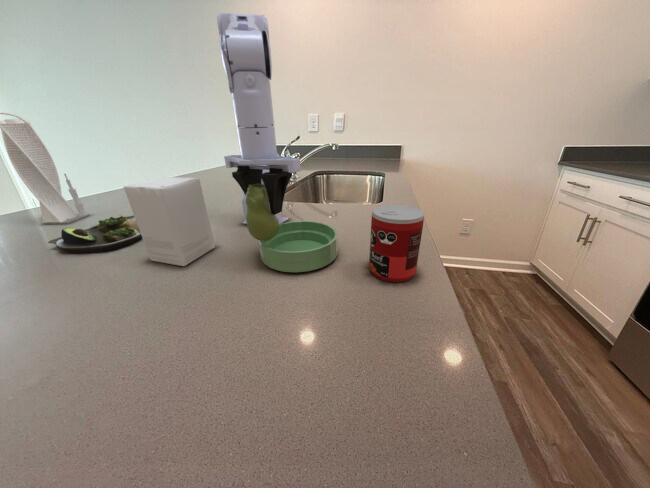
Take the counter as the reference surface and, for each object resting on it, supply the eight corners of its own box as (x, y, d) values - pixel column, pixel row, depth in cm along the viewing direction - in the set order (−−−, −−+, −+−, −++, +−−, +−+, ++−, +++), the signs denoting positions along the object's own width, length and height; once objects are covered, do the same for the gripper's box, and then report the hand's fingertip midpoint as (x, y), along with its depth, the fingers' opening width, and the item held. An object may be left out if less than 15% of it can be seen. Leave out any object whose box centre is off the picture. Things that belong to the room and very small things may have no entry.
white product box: (217, 247, 56) (201, 177, 49) (184, 267, 48) (160, 188, 42) (184, 242, 58) (165, 175, 52) (148, 260, 51) (121, 185, 44)
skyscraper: (63, 225, 71) (6, 111, 59) (34, 226, 71) (-28, 112, 59) (89, 215, 78) (44, 112, 66) (63, 215, 78) (13, 113, 66)
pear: (256, 233, 49) (246, 181, 45) (284, 232, 49) (276, 179, 44) (246, 246, 44) (233, 188, 40) (277, 245, 44) (267, 187, 39)
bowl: (245, 263, 49) (241, 242, 47) (290, 235, 61) (289, 217, 59) (312, 283, 42) (311, 259, 40) (349, 247, 54) (349, 227, 52)
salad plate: (105, 222, 72) (98, 207, 70) (170, 220, 72) (165, 204, 70) (38, 255, 54) (26, 235, 52) (124, 252, 55) (115, 232, 53)
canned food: (364, 261, 48) (367, 205, 44) (405, 259, 49) (412, 203, 44) (375, 285, 42) (379, 221, 37) (423, 281, 42) (433, 218, 37)
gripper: (203, 129, 40) (220, 212, 46) (276, 128, 34) (286, 224, 40) (237, 127, 46) (248, 201, 52) (305, 126, 39) (310, 211, 45)
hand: (266, 211), depth 46 cm, fingers closed on pear, 4 cm apart
